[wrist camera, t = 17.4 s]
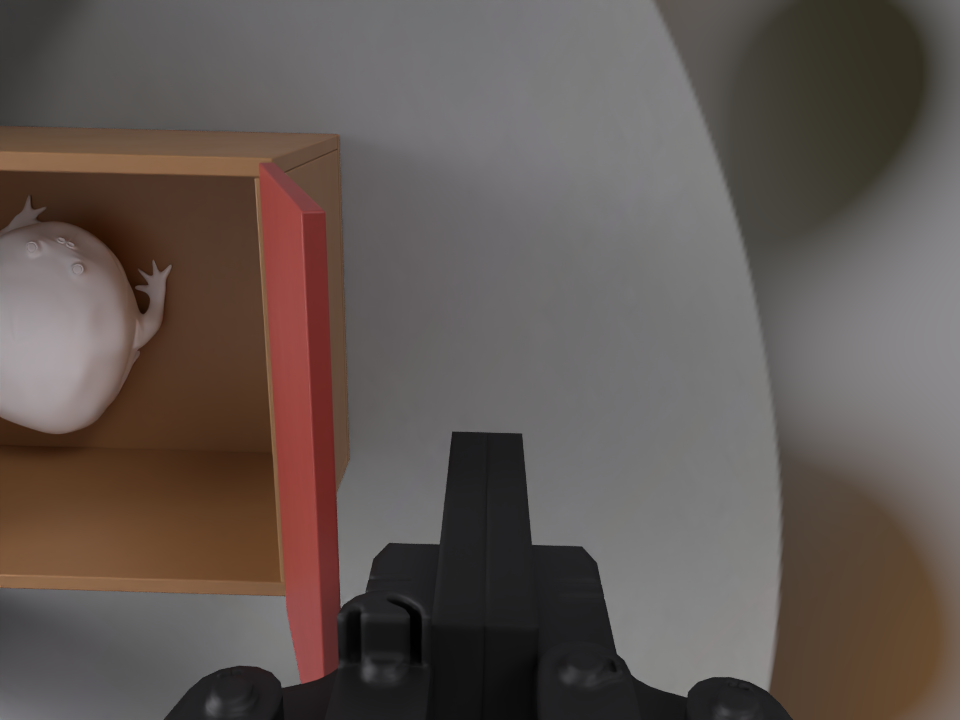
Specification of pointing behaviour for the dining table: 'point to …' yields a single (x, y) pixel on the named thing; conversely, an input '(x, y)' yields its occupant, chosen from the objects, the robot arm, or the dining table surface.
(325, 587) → the flap
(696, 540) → the dining table surface
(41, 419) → the white frog figurine
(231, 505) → the carton
